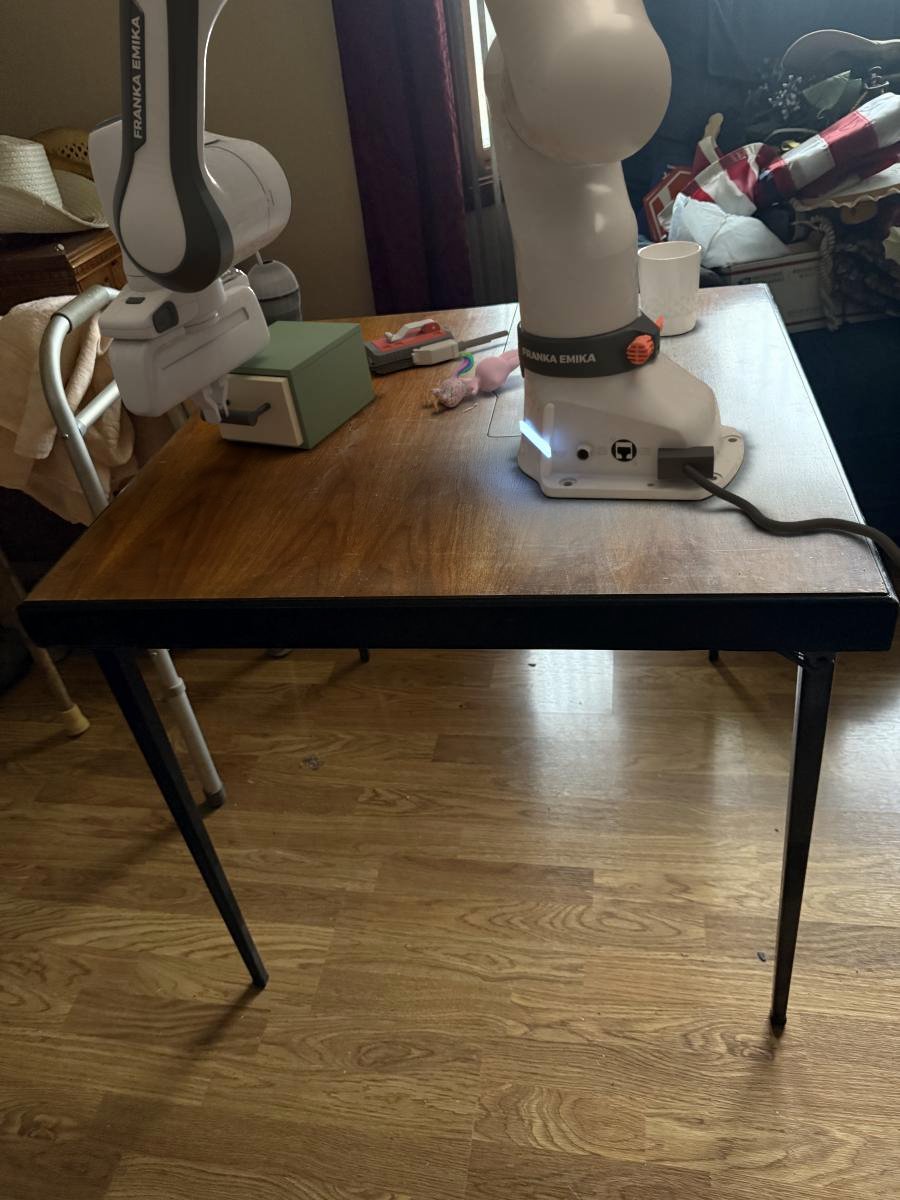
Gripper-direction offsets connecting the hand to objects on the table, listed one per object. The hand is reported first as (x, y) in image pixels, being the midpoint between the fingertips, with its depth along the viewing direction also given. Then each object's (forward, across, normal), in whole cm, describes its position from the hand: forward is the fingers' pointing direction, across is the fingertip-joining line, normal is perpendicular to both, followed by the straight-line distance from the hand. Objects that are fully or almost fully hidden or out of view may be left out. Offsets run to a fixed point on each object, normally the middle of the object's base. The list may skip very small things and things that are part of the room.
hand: (218, 420), depth 96 cm
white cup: (+6, -48, +37) cm, 61 cm away
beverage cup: (+6, -26, -10) cm, 28 cm away
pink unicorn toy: (+6, -24, +20) cm, 32 cm away
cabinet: (+6, -14, 0) cm, 15 cm away
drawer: (+5, -10, 0) cm, 11 cm away
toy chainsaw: (+6, -36, +8) cm, 37 cm away
